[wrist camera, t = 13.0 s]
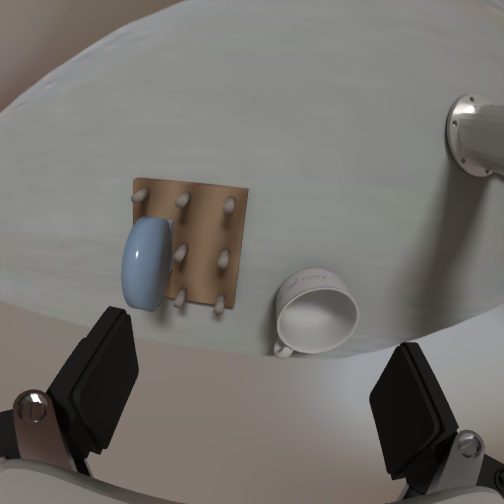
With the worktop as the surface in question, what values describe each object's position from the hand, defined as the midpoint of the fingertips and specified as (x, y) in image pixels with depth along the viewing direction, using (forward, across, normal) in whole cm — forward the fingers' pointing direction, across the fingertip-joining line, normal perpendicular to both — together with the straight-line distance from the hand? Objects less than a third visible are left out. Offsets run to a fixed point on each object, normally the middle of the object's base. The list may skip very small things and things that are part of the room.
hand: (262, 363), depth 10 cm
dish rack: (+30, +10, +10) cm, 33 cm away
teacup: (+30, -8, +16) cm, 35 cm away
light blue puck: (+28, +12, +10) cm, 32 cm away
